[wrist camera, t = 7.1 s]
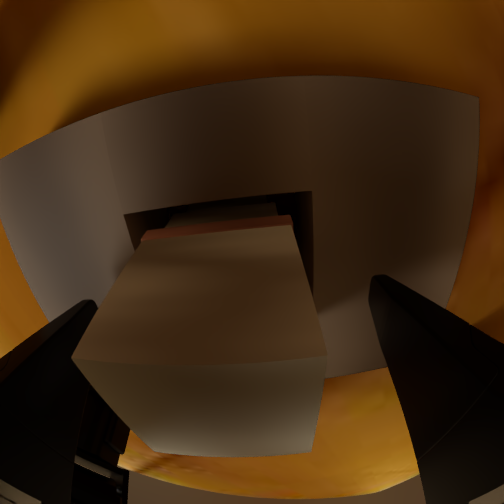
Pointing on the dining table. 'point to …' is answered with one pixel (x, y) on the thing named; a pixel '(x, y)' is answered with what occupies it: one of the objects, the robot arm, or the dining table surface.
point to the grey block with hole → (259, 189)
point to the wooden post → (212, 336)
